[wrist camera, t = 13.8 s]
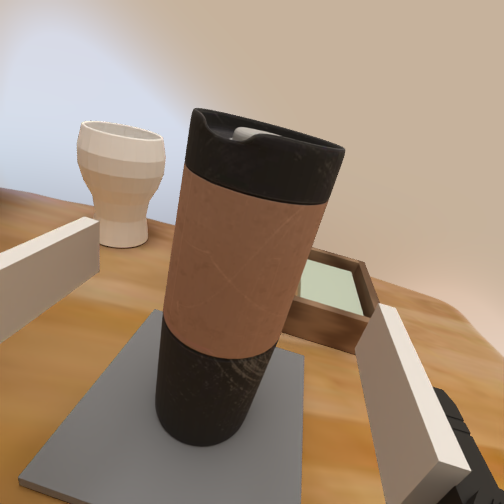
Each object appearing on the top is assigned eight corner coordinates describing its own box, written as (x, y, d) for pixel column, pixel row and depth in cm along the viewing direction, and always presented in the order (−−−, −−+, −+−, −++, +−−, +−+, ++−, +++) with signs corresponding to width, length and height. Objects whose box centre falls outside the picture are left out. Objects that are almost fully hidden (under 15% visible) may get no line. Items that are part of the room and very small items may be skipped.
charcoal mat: (19, 485, 17) (17, 477, 16) (154, 315, 31) (154, 309, 31) (294, 584, 16) (299, 578, 15) (301, 361, 30) (304, 355, 30)
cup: (149, 258, 40) (159, 146, 34) (65, 246, 38) (58, 123, 32) (163, 228, 50) (173, 135, 43) (95, 216, 48) (95, 117, 41)
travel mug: (239, 359, 27) (308, 133, 19) (262, 444, 21) (383, 161, 12) (152, 361, 25) (185, 102, 16) (148, 459, 18) (198, 116, 10)
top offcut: (296, 308, 35) (300, 298, 34) (298, 265, 44) (301, 257, 44) (359, 326, 34) (364, 317, 34) (347, 279, 44) (351, 271, 43)
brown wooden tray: (184, 301, 34) (190, 268, 32) (221, 247, 48) (227, 222, 46) (372, 359, 33) (389, 329, 31) (353, 286, 47) (364, 262, 45)
